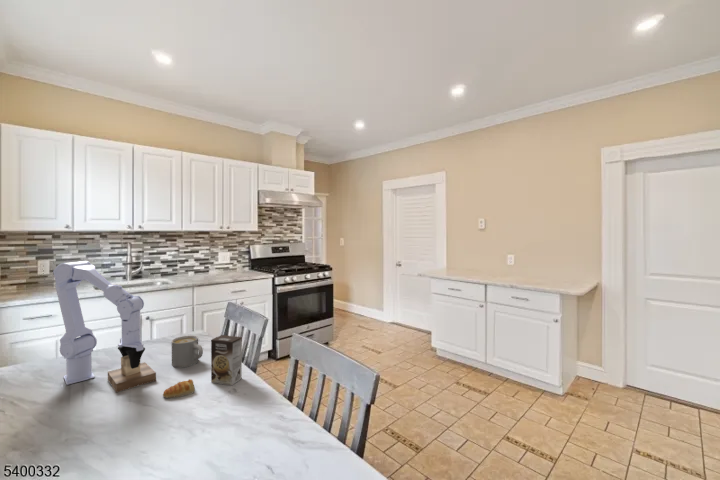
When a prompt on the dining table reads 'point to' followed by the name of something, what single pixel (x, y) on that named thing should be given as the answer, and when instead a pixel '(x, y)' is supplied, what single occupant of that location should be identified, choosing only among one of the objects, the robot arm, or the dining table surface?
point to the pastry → (180, 389)
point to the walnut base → (131, 378)
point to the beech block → (128, 366)
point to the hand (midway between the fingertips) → (131, 365)
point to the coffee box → (226, 359)
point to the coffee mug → (185, 351)
